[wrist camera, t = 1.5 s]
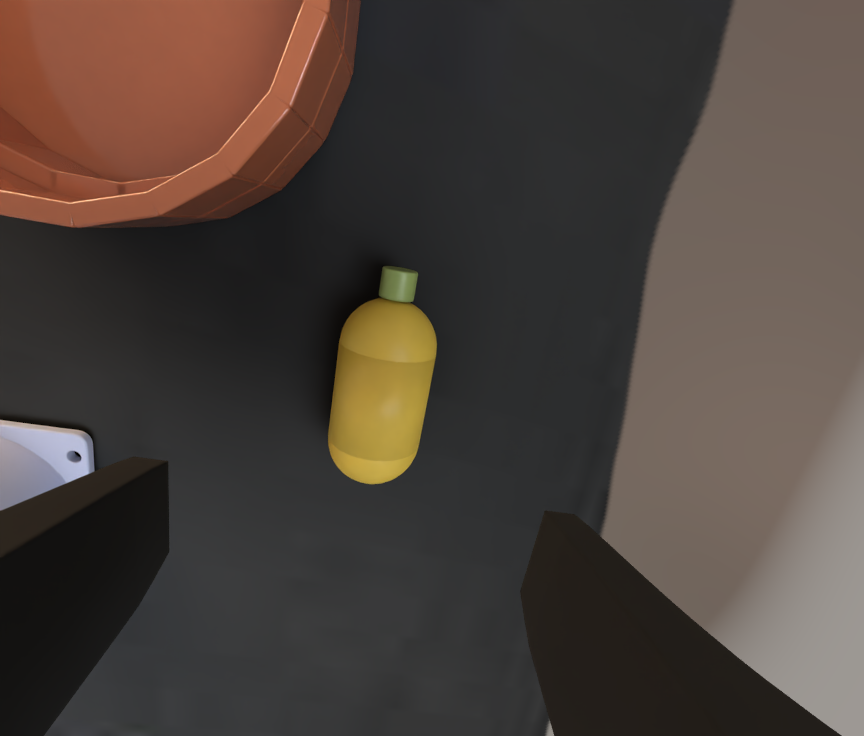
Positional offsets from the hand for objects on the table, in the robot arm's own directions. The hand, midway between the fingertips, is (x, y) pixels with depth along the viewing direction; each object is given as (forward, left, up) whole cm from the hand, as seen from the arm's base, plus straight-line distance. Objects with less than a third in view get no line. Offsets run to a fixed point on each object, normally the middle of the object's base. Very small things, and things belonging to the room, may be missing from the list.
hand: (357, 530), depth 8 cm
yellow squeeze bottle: (0, 0, -10) cm, 10 cm away
